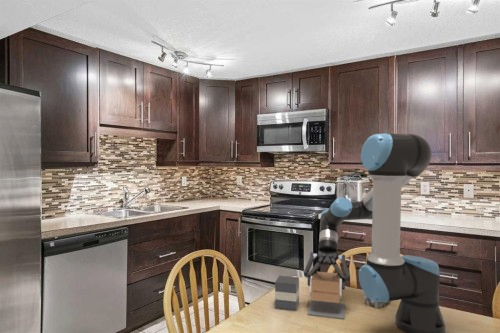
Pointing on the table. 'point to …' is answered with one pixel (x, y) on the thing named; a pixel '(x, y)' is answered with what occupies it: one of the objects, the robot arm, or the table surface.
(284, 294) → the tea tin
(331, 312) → the rubber mat
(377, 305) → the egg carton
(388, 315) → the table surface
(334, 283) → the wooden block stack
